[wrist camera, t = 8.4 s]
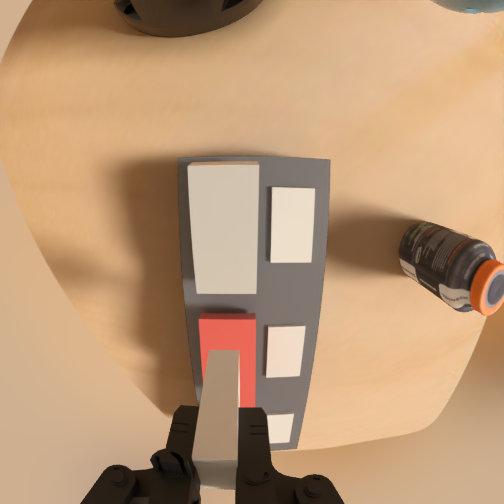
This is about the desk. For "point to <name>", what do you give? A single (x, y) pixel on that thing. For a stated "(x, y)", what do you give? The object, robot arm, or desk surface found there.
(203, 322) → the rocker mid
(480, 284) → the pill bottle
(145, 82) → the desk surface
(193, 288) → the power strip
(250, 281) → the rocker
